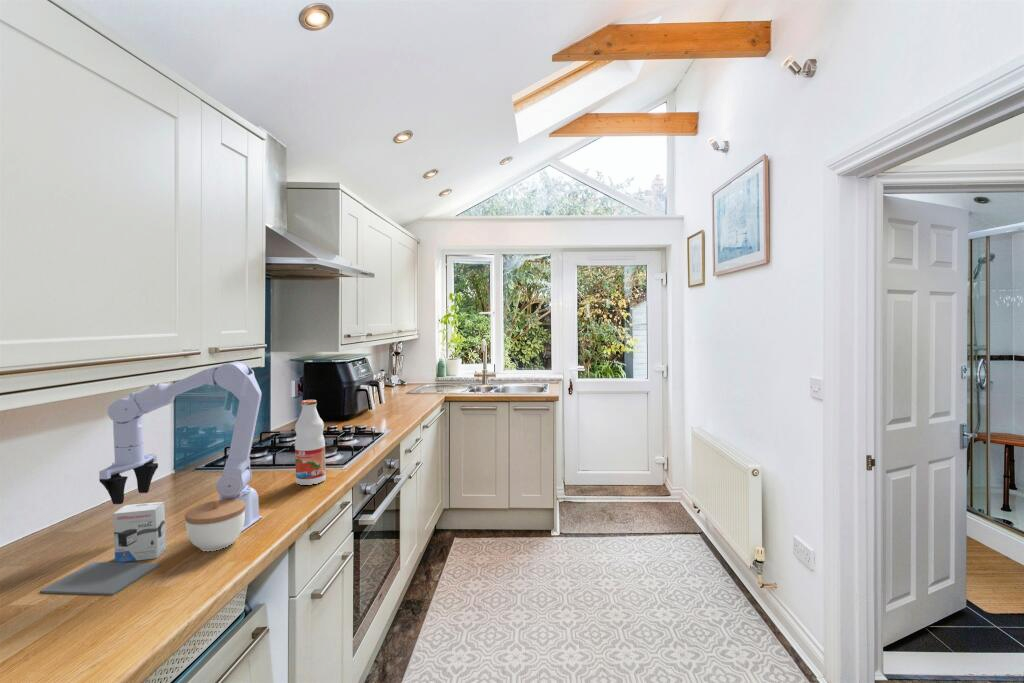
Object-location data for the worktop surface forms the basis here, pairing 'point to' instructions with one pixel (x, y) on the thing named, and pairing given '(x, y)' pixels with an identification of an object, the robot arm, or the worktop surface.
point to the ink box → (139, 532)
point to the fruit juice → (309, 445)
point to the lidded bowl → (215, 523)
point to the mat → (101, 578)
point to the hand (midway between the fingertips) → (131, 497)
